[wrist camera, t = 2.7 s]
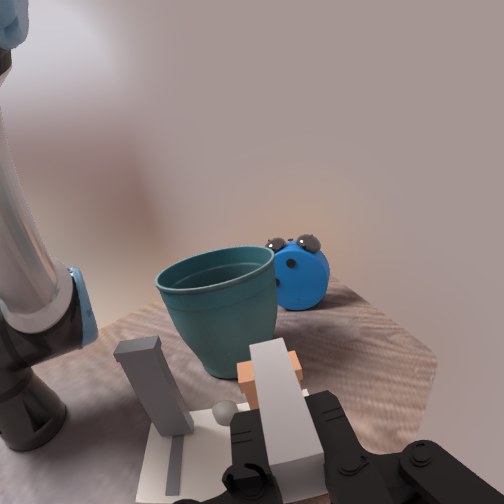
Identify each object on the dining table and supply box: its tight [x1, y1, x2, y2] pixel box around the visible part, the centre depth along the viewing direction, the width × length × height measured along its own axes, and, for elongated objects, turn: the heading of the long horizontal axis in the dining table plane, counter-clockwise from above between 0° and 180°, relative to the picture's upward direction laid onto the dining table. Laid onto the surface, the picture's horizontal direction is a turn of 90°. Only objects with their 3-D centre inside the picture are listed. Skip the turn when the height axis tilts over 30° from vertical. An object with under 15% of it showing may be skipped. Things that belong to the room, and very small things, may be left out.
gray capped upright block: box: [113, 335, 194, 437], centre depth 28 cm, size 2×4×12 cm, turn 95°
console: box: [136, 389, 328, 504], centre depth 27 cm, size 14×20×4 cm
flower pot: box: [155, 246, 277, 378], centre depth 47 cm, size 18×18×17 cm
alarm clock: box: [265, 234, 330, 310], centre depth 61 cm, size 13×6×15 cm, turn 72°
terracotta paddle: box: [237, 350, 303, 410], centre depth 22 cm, size 2×4×12 cm, turn 95°
